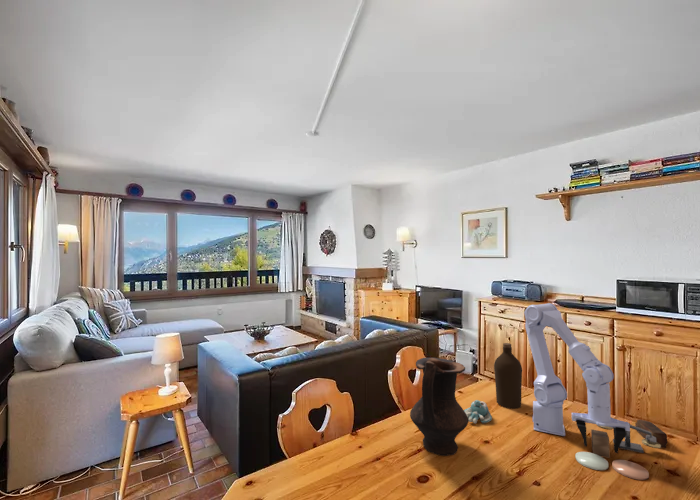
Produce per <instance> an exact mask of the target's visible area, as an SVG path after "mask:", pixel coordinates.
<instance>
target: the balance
mask: <svg viewBox="0 0 700 500" xmlns="http://www.w3.org/2000/svg"><path fill="white" fill-rule="evenodd" d="M612 418H613V419H615V418H614V417H612ZM628 423H629V425H630V429H632V430H635V431H636V430H637V431H640V432H643V433H645V434H648V435H646V439H644V438H643V439H641V443H642V444H643V445H645V446H646V447H649V448H653V449H660V448H662V447H661V445H660V443H658V442H656V437H654V436H652V433H651V432H649V431H646V430H644V429H641V428H638V427H636V426H635V425H633V424H631V423H630V422H628ZM596 426H597V427H598V428H600V429H603V430H608V431H613V427H608V426H599V425H597V424H596ZM637 431H636V432H637ZM625 432H626V436H625V437H624V440H622V442H621V444H620V446H619V449H621V450H627V451H631V452H636V453H640V454H641V453H642V454H644V453H645V452H644V449H643V447H642V444H640V443H639V444H638V443H635V442H631V430H630V431H626V430H625ZM612 442H613V444H614V438H613V439H612Z"/></svg>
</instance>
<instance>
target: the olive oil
mask: <svg viewBox="0 0 700 500" xmlns="http://www.w3.org/2000/svg"><path fill="white" fill-rule="evenodd" d="M493 370H494V371H493V372H494V381H495V382H494V383H495V396H496V397H495V398H496V403H498V404H499V406H500V405H501V407H502V406H503V408H505V407H506V409H511V408H512V409H519V408H521V407H522V381H523V368H522V364H521V362H520V360H519V359H518V358H517V357H516V356H515V354H513V349H512V344H511V343H509V342H503V343H502V353H501V354H500V355H498V357H497V358H496V359H495V360H494V363H493ZM498 404H497V405H498ZM512 409H511V410H512Z"/></svg>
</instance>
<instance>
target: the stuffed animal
mask: <svg viewBox="0 0 700 500" xmlns="http://www.w3.org/2000/svg"><path fill="white" fill-rule="evenodd" d="M463 410H464V412H465V413H466V415H467V417H468V420H469V422H468V423H473V424H477V423H478V420H479V421H480V422H481V423H482V424H487V423H490V422H491V421H492V419H493V415H491V412H490V410H489V407H488V405H487V403H486V402H485V401H481V400H479V399H475V400H473V401H472V402H471V404H470V407H468V408H466V409H463Z"/></svg>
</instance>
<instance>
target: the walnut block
mask: <svg viewBox="0 0 700 500" xmlns="http://www.w3.org/2000/svg"><path fill="white" fill-rule="evenodd" d="M590 430H591V432H590V433H591V450H592V453H593V454H596V455H599V456H601V457H603V458H607V459H610V458H611V455H610V453H611V452H610V437H609V434H608V432H607V431H601V430H598V429H590Z"/></svg>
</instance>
